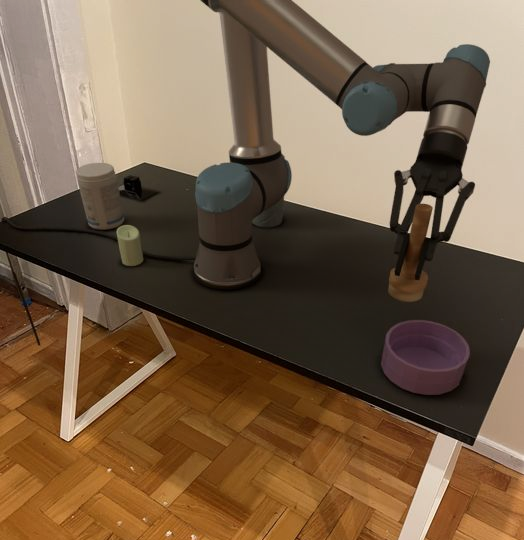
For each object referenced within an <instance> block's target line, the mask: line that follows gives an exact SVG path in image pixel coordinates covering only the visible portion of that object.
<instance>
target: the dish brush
mask: <svg viewBox="0 0 524 540" xmlns="http://www.w3.org/2000/svg"><path fill="white" fill-rule="evenodd" d="M432 213H433V206H432V205H431V204H428V203H420V204H417V205H416V207H415V212H414V217H413V222H412V224H411V226H410V230H409V234H410V236H409V241H408V246H407V250H406V255H405V258H404V262H403V265H402V269H401V272H400V276H395V268H396V266H395V267H394V268H392V269H391V270H390V273H389V276H388V283H389V284H388V289H387V292H388V294H389V295H390V296H391V297H392V298H393V299H395V300H397V301H400V302H404V303H405V302H406V303H411V302H413V303H414V302H417V301H419V300H421V299H422V298H423V295H424V292H425V289H426V287H427V285H428V280H429V276H428V273H427V272H425V271H424V270H423V269H422V272H421V276H420V279H419V280H415V273H416V269H417V266H418V262H419V259H420V255H421V252H422V248H423V245H424V241H425V238H426V237H427V235H428V231H429V227H430V222H431V217H432Z"/></svg>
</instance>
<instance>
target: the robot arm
mask: <svg viewBox="0 0 524 540" xmlns="http://www.w3.org/2000/svg"><path fill="white" fill-rule="evenodd" d="M199 1H200V2H201V3H203V4H204V5H205V6H206V7H207V8H209V9H210V11H213V12H214V13H218V14H219V21H220V29H221V37H222V47H223V54H224V63H225V65H224V66H225V73H226V81H227V89H228V90H227V91H228V98H229V106H230V108H229V109H230V115H231V117H230V118H231V125H232V133H233V134H232V135H233V145H232V146H231V147H230V148H229V150H228V157H229V162H221V163H219V164H212V165H210V166H208V167H206V168H204V169H203V170H202V171H201V172H200V173H199V174H198V176H197V177H196V179H195V180H196V181H195V193H194V198H195V203H196V211H197V212H196V214H197V227H198V237H199V245H198V248H197V251H196V256H168V255H167V256H166V255H158V254H153V253H148V252H146V251H143V250H142V254H143V256H145V257H149V258H153V259H159V260H167V261H168V260H169V261H194V263H193V275H194V278H195V279H196V281H197V282H198V283H199V284H201V285H202V286H204V287H207V288H210V289H214V290H222V291H231V290H238V289H242V288H246V287H248V286H250V285H252V284H254V283H255V282H256V281H257V280H258V279H259V278H260V276H261V267H262V266H261V261H260V258H259V256H258V254H257V250H256V247H255V244H254V242H253V223H252V220H253V219H254V218H256V217H257V216H258V215H260V214H261V213H262V212H264V211H265V210H266V209H268V208H269V207H270V206H273V205H275V204H276V203H278V202H279V200H281V198H282V197H283V196H284V197H285V196H286V194H287V193H288V191H289V189H290V187H291V184H292V176H293V173H292V167H291V164H290V162H289V160H287V159H286V156H285V155H284V154H283V153H282V146H281V144H280V143H279V142H278V141H276V140H275V138H274V128H273V127H274V126H273V114H272V113H273V111H272V99H271V85H270V83H271V82H270V71H269V59H268V58H269V57H268V49H269V50H270V51H271V52H273V53H274V54H275V55H276V56H277V57H278V58H280V59H281V60H282V61H283V62H284V63H286V64H287V65H288V66H289V67H290V68H291V69H293V70H294V71H295V72H296V73H298V74H299V75H300V76H301V77H303V78H304V80H306V81H307V82H308V83H310V84H311V85H312V86H313V87H315V88H316V89H317V90H318V91H319V92H320V93H322V94H323V95H324V96H325V97H326V98H328V99H329V100H330V101H331V102H333V104H335V105H336V106H337V107H338V108H340V109H341V116H342V119H343V122H344V124H345V126H346V128H347V129H348V130H349V131H350V132H352V133H353V134H355V135H357V136H362V137H368V136H372V135H375V134H377V133H380V132H382V131H384V130H385V129H387V128H388V127H389V126H390V125H392V124H393V122H394V121H396V120H397V119H399V118H400V117H401V116H403V115H404V114H406V113H409V112H410V113H411V112H413V113H414V112H418V113H420V112H422V113H423V112H424V113H425V112H426V113H428V116H427V120H426V123H425V128H424V132H423V134H422V136H423V137H422V139H421V141H420V145H419V148H418V151H417V155H416V159H415V161H414V163H413V164H412V165H411V166H410V168H409V169H406V170H403V171H402V170H400V169H397V170H395V171H394V173H393V176H394V179H393V180H394V184H395V188H394V194H393V200H392V206H391V212H390V218H389V231H391V232H393V233H395V234H397V236H396V239H395V242H394V243H395V244H394V247H393V251H394V255H398V256H397V257H398V258H397V260H396V264H395V267H396V268H395V267H394V268H395V276H400V272H401V269H402V266H403V264H404V260H405V255H406V250H407V246H408V241H409V236H410V233H409V232H410V229H411V226H412V222H413V217H414V212H415V207H416V205H417V204H422V202H423V200H424V197H432V198H434V199H435V203H434V211H433V217H432V225H431V233H430V237H427V236H426V238H425V241H424V245H423V248H422V252H421V255H420V259H419V262H418V266H417V269H416V273H415V280H419V279H420V276H421V272H422V270H423V268H424V264H425V261H427V262H432V261H433V259H434V255H435V251H436V248H437V245H438V244H439V243H442V242H444V243H447V242H448V243H449V241H451V238H452V235H453V233H454V231H455V228H456V226H457V223H458V220H459V218H460V215H461V213H462V211H463V208H464V206H465V203H466V201H468V199H470V197H471V196H472V195H473V194H474V192H475V191H474V190H475V187H476V183H475V182H474V181H468V180H466V179H465V178H464V177H463V176H464V175H463V171H462V169H463V166H464V161H465V158H466V154H467V151H468V145H469V144H470V140H471V136H472V133H473V130H474V126H475V122H476V119H477V114H478V111H479V107H480V104H481V101H482V97H483V94H484V91H485V89H486V87H487V79H488V73H489V69H490V64H491V60H490V59H491V58H490V56H489V54H488V53H487V51H486V50H485V49H483V48H482V47H481V46H478V45H475V44H470V43H469V44H468V43H465V44H459V45H458V46H457V47H455V46H454V47H451V48H450V49H449V50H448V52H447V53H446V54H445V57H444V58H443V61H442V62H441V61H439V62H430V63H395V62H390V63H388V64H378V65H375V66H372V65H370V64H369V63H368V62H367V61H366V60H365V59H363V58H362V57H361V56H360V55H359V54H357V53H356V52H355V51H354V50H353V49H352V48H350V47H349V46H348V45H347V44H346V43H344V42H343V41H342V40H340V39H339V38H338V37H337V36H336V35H335V34H333V33H332V32H331V31H329V29H327V28H326V27H325V26H324V25H323V24H321V22H319V21H317V20H316V19H315V18H314V17H313V16H312V15H310V13H308V12H307V11H306V10H304V9H303V8H302V7H301V6H299V4H297V3H296V2H295V1H293V0H199ZM409 179H411V182H412V183H413V185H414V188H415V191H414V193H413V196H412V199H411V201H410V203H409V206H408V207H407V209H406V212H405V214H404V217H403V219H402V221H401V223H399V220H400V214H401V210H402V209H401V208H402V203H403V197H404V186H406V185H407V184H408V183H409V182H408V181H409ZM457 186H458V189H457V193H458V196H457V198H456V201H455V203H454V206H453V208H452V211H451V214H450V216H449V218H448V221H447V223H446V225H445V228H444V230H443V231H440V229H441V222H442V221H441V220H442V215H443V208H444V200H445V196H446V195H448V194H449V193H450V192H451V191H453V190H454V189H456V187H457ZM0 221H1V222H5V221H6V222H7V223H8V224H9V225H10V226H12V227H13V228H15V229H18V230H23V231H24V230H25V231H64V232H65V231H67V232H78V233H79V232H80V233H89V234H93V235H99V236H101V237H105V238H109V239H112V240H115V241H116V242H118V238H117V236H116V235H112V234H109V233H106V232H102V231H99V230H93V229H85V228H77V227H63V226H62V227H61V226H60V227H59V226H58V227H57V226H55V227H54V226H20V225H17V224H16V223H14V222H13V221H12V220H11V219H10V218H9V217H8V216H3V217H1V219H0ZM11 273H12V275H13V279H14V282H15V284H16V288H17V290H18V293H19V296H20V298H21V301H22V304H23V307H24V310H25V312H26V314H27V318H28V321H29V323H30V326H31V328H32V332H33V335H34V337H35V341H36V343H37V346H41V342H40V338H39V336H38V333H37V330H36V326H35V324H34V321H33V319H32V315H31V313H30V310H29V308H28V304H27V302H26V299H25V296H24V294H23V291H22V287H21V285H20V282H19V279H18V276H17V273H16V272H14V270H13V271H12V270H11Z"/></svg>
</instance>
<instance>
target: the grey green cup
mask: <svg viewBox="0 0 524 540" xmlns="http://www.w3.org/2000/svg"><path fill="white" fill-rule="evenodd" d="M284 202H285V195H284V196H283V197H282V198H281V200H279V202H278V203H276V204H275V205H273V206H270V207H269V208H268V209H266V210H265V211H264V212H262V213H261V214H260V215H258V216H257V217H256V218H254V219H253V220H252V225H255V226H256V227H258V228H259V227H260V228H275V227H277V226H279V225H281V224H282V222H283V218H284Z"/></svg>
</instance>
